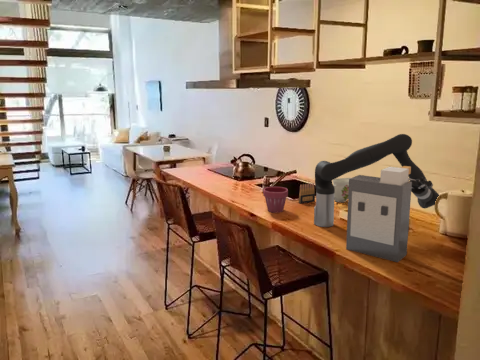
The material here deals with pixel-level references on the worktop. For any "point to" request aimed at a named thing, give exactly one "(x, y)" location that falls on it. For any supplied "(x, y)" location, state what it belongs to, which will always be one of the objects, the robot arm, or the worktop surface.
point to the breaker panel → (378, 217)
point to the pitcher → (341, 189)
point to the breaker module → (395, 175)
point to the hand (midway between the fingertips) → (411, 177)
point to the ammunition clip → (307, 194)
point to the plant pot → (275, 198)
